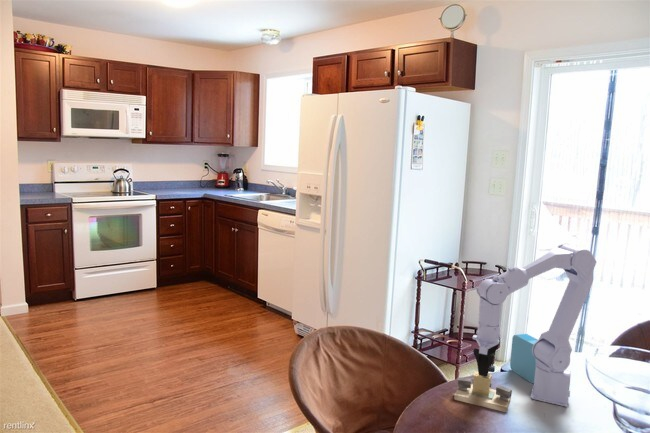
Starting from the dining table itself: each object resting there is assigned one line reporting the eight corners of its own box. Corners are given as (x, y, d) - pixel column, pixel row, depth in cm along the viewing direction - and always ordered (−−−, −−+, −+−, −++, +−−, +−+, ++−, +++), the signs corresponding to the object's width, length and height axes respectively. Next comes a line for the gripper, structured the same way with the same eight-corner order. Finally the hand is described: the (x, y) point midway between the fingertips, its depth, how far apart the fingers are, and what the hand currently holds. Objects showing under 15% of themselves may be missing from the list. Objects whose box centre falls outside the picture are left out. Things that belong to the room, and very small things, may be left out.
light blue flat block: (547, 384, 154) (551, 346, 153) (534, 385, 153) (538, 347, 151) (520, 367, 166) (524, 332, 164) (509, 369, 164) (512, 333, 163)
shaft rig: (512, 398, 144) (513, 383, 143) (508, 412, 136) (509, 396, 135) (459, 386, 150) (460, 371, 150) (452, 399, 142) (453, 383, 142)
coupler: (491, 392, 143) (492, 375, 143) (489, 396, 141) (491, 379, 140) (473, 387, 145) (474, 371, 145) (471, 392, 143) (472, 375, 142)
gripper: (478, 313, 148) (475, 358, 150) (469, 328, 135) (465, 376, 137) (503, 317, 145) (500, 363, 147) (496, 333, 132) (492, 382, 134)
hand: (485, 370), depth 142 cm, fingers open, 7 cm apart
